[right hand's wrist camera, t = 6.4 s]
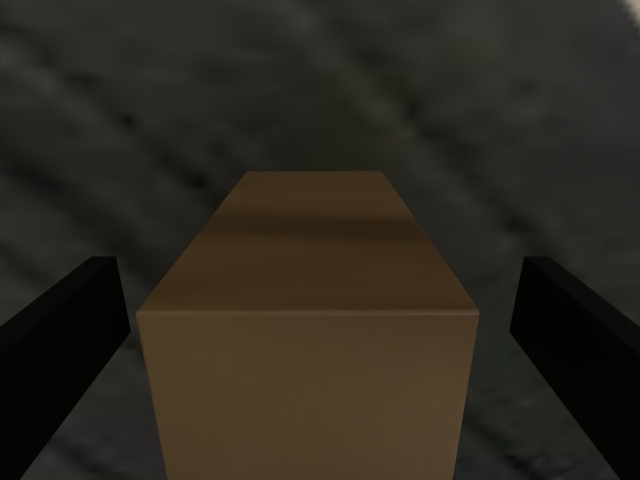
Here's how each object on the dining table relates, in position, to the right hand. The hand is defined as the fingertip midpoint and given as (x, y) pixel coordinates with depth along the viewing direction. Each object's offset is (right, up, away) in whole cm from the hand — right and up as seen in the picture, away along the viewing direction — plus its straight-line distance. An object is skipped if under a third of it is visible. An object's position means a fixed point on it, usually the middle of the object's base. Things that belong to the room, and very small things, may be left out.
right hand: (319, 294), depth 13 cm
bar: (0, -7, +6) cm, 9 cm away
